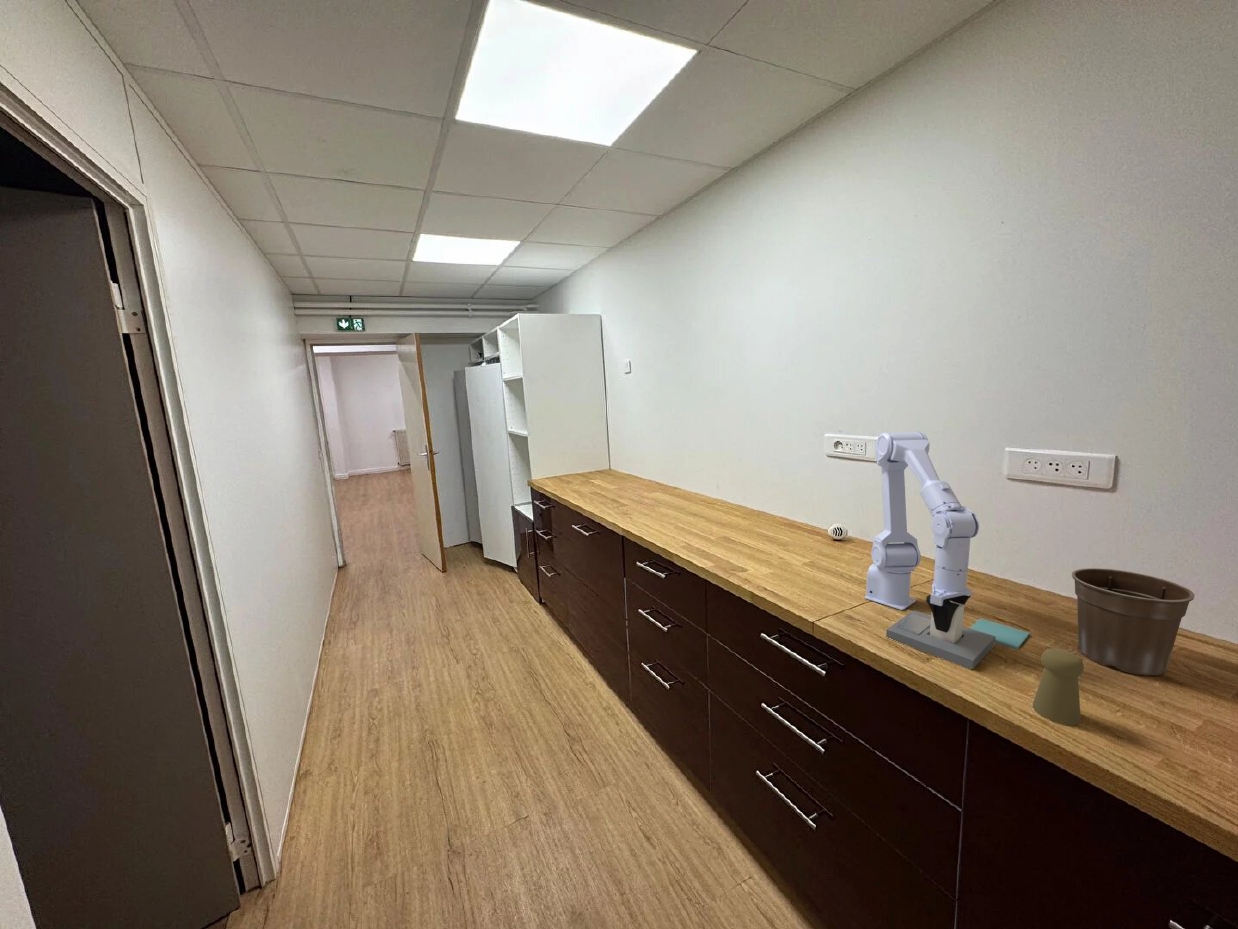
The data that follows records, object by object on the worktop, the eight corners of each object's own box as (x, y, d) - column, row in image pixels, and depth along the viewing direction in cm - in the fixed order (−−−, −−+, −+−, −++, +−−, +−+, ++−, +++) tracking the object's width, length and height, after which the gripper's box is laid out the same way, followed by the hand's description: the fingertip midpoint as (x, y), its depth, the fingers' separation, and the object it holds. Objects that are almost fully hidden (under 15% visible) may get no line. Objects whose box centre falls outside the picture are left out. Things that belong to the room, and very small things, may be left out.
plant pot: (1042, 638, 102) (1050, 567, 100) (1118, 637, 102) (1128, 566, 99) (1118, 684, 86) (1129, 601, 84) (1209, 683, 86) (1224, 599, 83)
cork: (1086, 730, 75) (1094, 667, 74) (1036, 718, 78) (1043, 657, 77) (1075, 708, 80) (1082, 649, 79) (1029, 697, 84) (1035, 640, 82)
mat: (966, 632, 106) (966, 630, 106) (980, 620, 111) (980, 618, 111) (1017, 649, 99) (1017, 647, 98) (1029, 635, 104) (1029, 632, 104)
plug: (929, 638, 102) (932, 604, 101) (937, 631, 105) (940, 598, 103) (953, 647, 98) (956, 611, 97) (961, 639, 101) (964, 604, 100)
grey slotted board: (886, 638, 105) (886, 628, 104) (912, 618, 113) (913, 609, 113) (972, 670, 92) (973, 659, 92) (994, 645, 100) (995, 635, 100)
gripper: (961, 581, 92) (955, 645, 94) (985, 563, 100) (980, 622, 102) (920, 571, 97) (916, 632, 99) (947, 554, 106) (943, 611, 108)
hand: (946, 626), depth 101 cm, fingers closed on plug, 4 cm apart
